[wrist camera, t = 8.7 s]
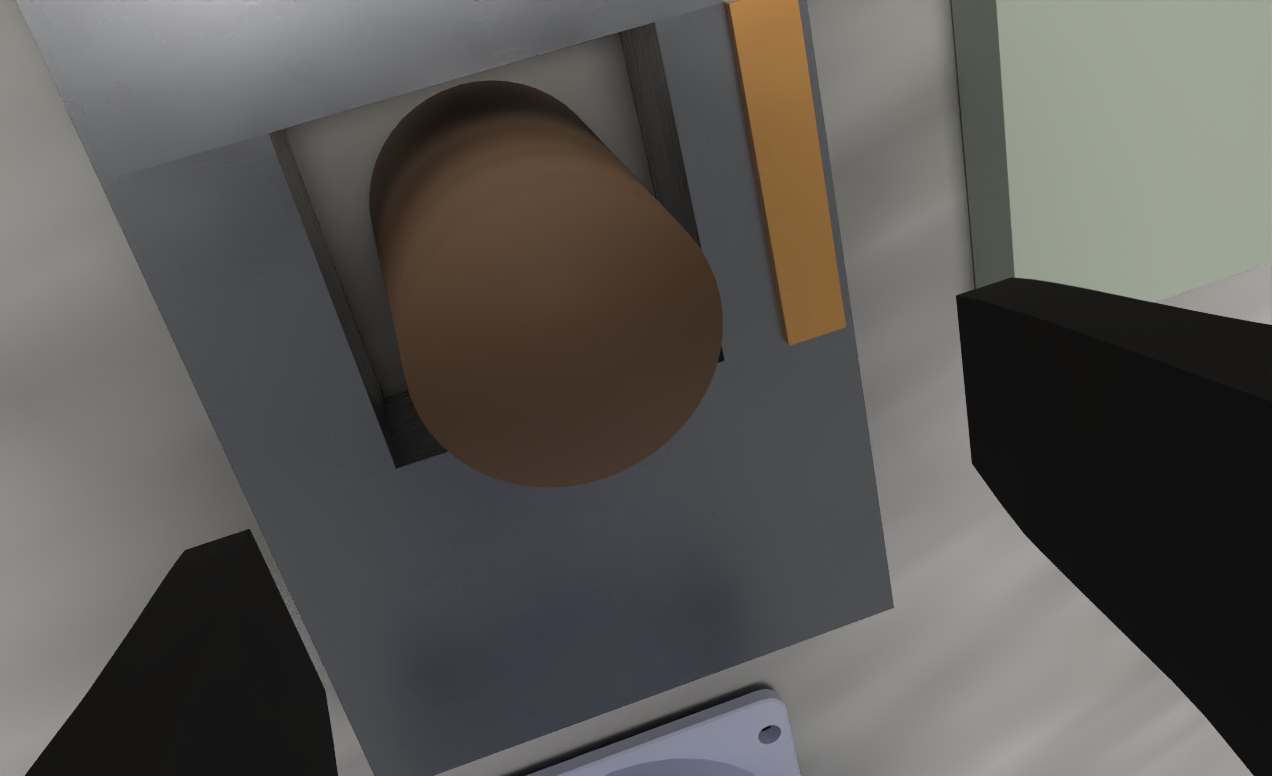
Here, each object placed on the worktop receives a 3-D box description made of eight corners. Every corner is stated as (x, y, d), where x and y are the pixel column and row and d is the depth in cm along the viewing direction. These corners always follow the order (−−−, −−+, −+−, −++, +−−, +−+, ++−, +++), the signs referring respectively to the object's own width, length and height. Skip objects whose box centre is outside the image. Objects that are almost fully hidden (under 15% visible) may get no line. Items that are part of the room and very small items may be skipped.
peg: (632, 273, 21) (747, 429, 16) (413, 344, 20) (457, 528, 15) (577, 50, 19) (689, 144, 14) (334, 121, 19) (355, 245, 13)
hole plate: (840, 537, 25) (898, 613, 22) (373, 702, 23) (383, 801, 21) (665, -516, 16) (731, -570, 14) (-91, -344, 15) (-162, -371, 12)
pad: (1290, 213, 24) (1347, 237, 23) (978, 317, 23) (1019, 347, 22) (1322, -354, 19) (1397, -365, 18) (929, -250, 18) (979, -254, 17)
